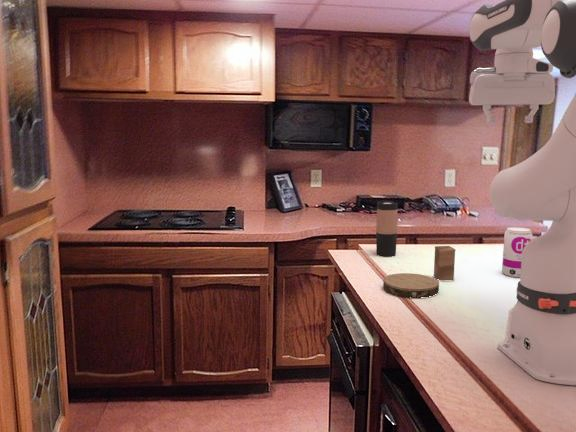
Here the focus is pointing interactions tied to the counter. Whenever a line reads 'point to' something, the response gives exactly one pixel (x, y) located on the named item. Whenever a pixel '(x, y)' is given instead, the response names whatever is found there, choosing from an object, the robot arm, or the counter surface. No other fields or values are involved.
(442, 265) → the walnut block
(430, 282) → the wood slice
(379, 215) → the travel mug
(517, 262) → the supplement can
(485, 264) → the counter surface
